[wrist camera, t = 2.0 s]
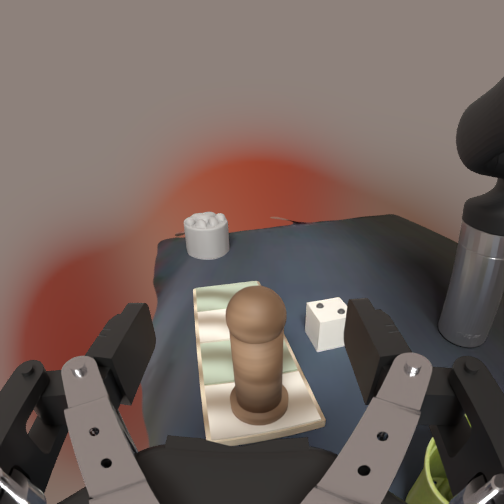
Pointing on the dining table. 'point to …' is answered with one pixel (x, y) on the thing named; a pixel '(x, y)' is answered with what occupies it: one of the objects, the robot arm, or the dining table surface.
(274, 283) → the dining table surface
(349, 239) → the dining table surface
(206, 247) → the lumpy-topped squat cylinder
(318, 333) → the die
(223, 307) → the game board
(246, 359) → the pawn
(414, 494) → the plant pot
